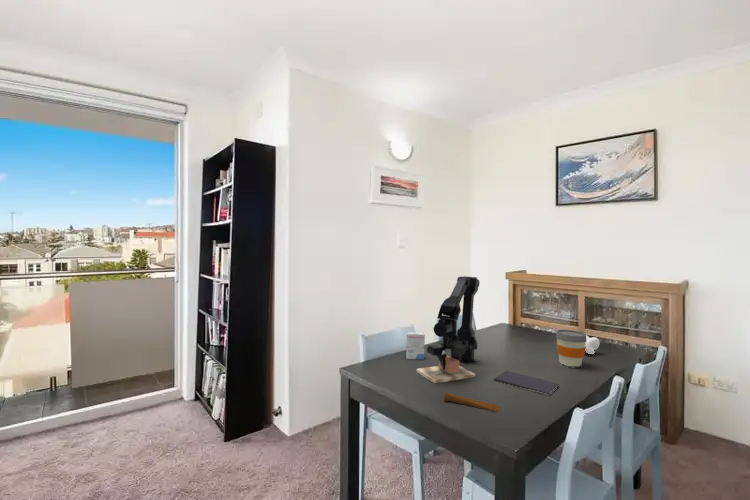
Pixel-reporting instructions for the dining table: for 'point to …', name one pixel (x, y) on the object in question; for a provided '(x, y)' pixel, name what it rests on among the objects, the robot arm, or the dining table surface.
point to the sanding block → (450, 365)
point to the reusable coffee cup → (570, 347)
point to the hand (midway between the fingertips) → (448, 368)
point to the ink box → (415, 345)
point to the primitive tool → (471, 402)
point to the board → (444, 374)
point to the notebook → (526, 382)
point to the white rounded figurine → (591, 344)
